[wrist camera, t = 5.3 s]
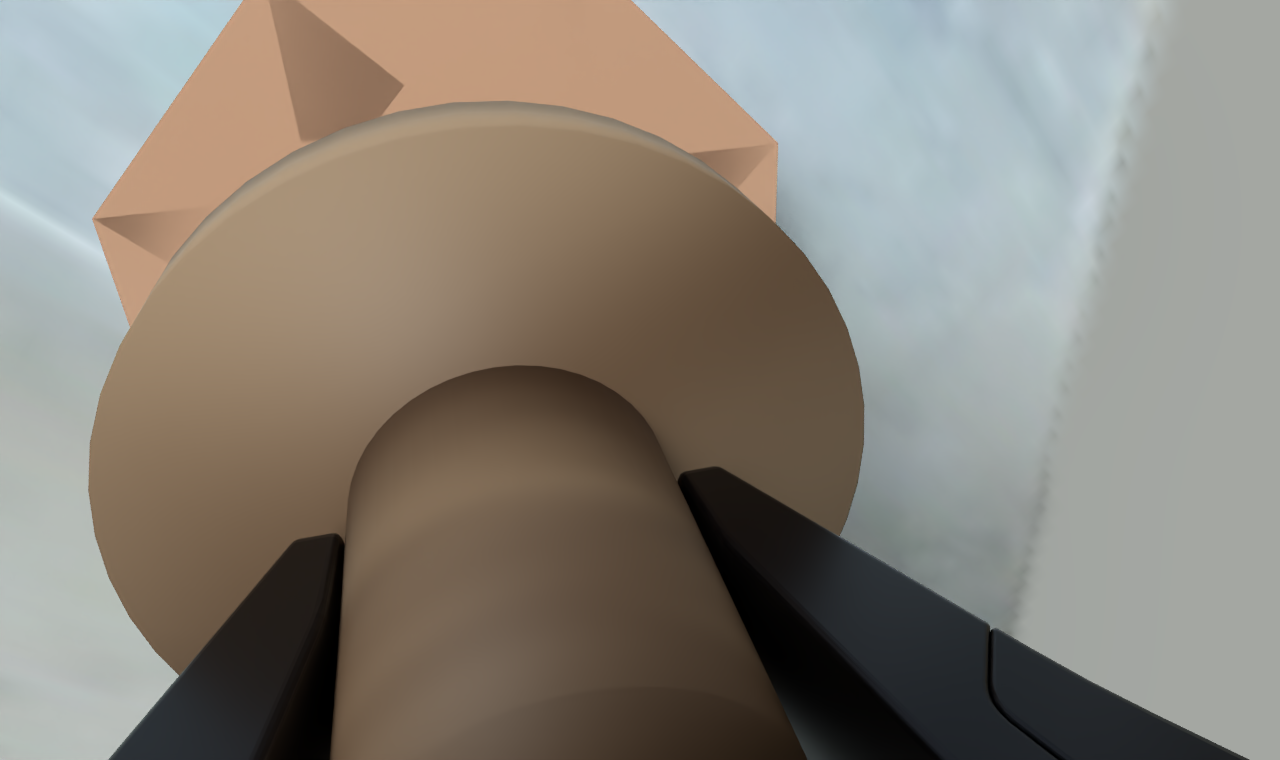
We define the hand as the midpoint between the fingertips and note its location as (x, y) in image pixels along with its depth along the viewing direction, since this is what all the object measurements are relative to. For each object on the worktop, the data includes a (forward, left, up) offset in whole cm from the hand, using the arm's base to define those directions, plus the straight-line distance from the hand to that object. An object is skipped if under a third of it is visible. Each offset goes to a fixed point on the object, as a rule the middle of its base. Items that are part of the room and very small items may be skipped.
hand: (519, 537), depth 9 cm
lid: (0, 0, -2) cm, 2 cm away
